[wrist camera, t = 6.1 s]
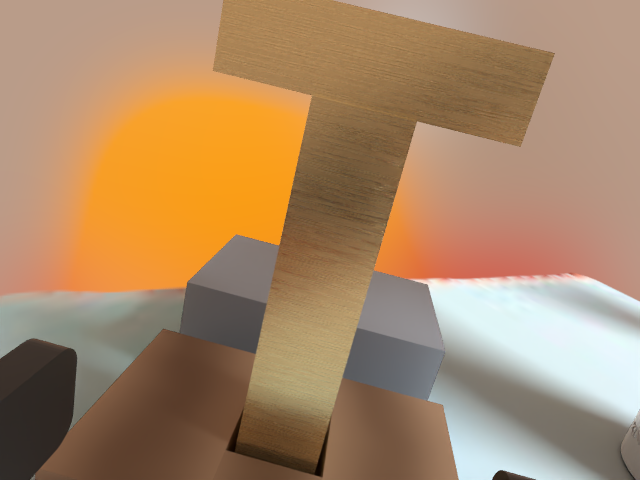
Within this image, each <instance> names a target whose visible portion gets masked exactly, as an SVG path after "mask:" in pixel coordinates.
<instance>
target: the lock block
mask: <svg viewBox="0 0 640 480" xmlns="http://www.w3.org/2000/svg"><path fill="white" fill-rule="evenodd" d="M255 356H256V354H254V353H250V352H246V351H243V350H239V349H235V348H232V347H228V346H224V345H221V344H217V343H213V342H210V341H206V340H202V339H199V338H195V337H191V336H188V335H184V334H180V333H177V332H173V331H170V330H166V329H163V330H162V331H161V332H160V333H159V334H158V335H157V336H156V337H155V339H154V340H153V341H152V342H151V343H150V344H149V345H148V346H147V347H146V348H145V349H144V350H143V352H142V353H141V354H140V355H139V356H138V357H137V358H136V359H135V360H134V361H133V362H132V363H131V365H130V366H129V367H128V368H127V369H126V370H125V371H124V372H123V373H122V374H121V375H120V377H119V378H118V379H117V380H116V381H115V382H114V383H113V384H112V385H111V386H110V387H109V388H108V390H107V391H106V392H105V393H104V394H103V395H102V396H101V397H100V398H99V399H98V400H97V402H96V403H95V404H94V405H93V406H92V407H91V408H90V409H89V410H88V411H87V412H86V413H85V415H84V416H83V417H82V418H81V419H80V420H79V421H78V422H77V423H76V424H75V425H74V426H73V428H72V429H71V430H70V431H69V432H68V433H67V434H66V436H65V438H64V440H63V442H62V443H61V445H60V446H59V448H58V449H57V450H56V451H55V452H54V454H53V455H52V456H51V457H50V458H49V459H48V460H47V461H46V462H45V463H44V465H43V466H42V467H41V468H40V469H39V470H38V471H37V472H36V473H35V480H458V475H457V470H456V465H455V461H454V456H453V451H452V446H451V442H450V437H449V432H448V427H447V423H446V418H445V413H444V408H443V405H441V404H437V403H433V402H430V401H426V400H422V399H419V398H415V397H411V396H408V395H404V394H400V393H397V392H393V391H389V390H386V389H382V388H378V387H375V386H371V385H367V384H364V383H360V382H356V381H353V380H349V379H345V378H342V380H341V384H340V387H339V390H338V394H337V397H336V401H335V404H334V408H333V411H332V414H331V418H330V421H329V425H328V428H327V432H326V435H325V438H324V442H323V445H322V449H321V452H320V456H319V459H318V463H317V466H316V469H315V473H314V475H311V474H308V473H304V472H301V471H297V470H294V469H290V468H287V467H283V466H280V465H276V464H273V463H269V462H265V461H262V460H258V459H255V458H251V457H248V456H244V455H241V454H237V453H234V452H235V448H236V443H237V438H238V434H239V429H240V425H241V420H242V415H243V411H244V406H245V402H246V397H247V392H248V388H249V383H250V379H251V374H252V370H253V365H254V360H255Z"/></svg>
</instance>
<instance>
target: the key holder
mask: <svg viewBox="0 0 640 480" xmlns="http://www.w3.org/2000/svg"><path fill="white" fill-rule="evenodd" d="M278 250H279V246H278V245H274V244H271V243H267V242H263V241H259V240H255V239H252V238H248V237H244V236H240V235H235V236H234V237H233V238H232V239H231V240H230V241H229V242H228V243H227V244H226V245H225V246H224V247H223V248H222V249H221V250H220V251H219V252H218V253H217V254H216V255H215V256H214V257H213V258H212V259H211V260H210V261H209V262H208V263H206V264H205V265H204V266H203V267H202V268H201V269H200V270H199V271H198V272H197V274H195V275H194V276H193V277H192V278H191V279H190V280H189V281H188V282H187V288H186V294H185V301H184V307H183V314H182V320H181V327H180V334H184V335H188V336H191V337H195V338H199V339H202V340H206V341H210V342H213V343H217V344H221V345H224V346H228V347H232V348H235V349H239V350H243V351H246V352H250V353H254V354H256V351H257V347H258V342H259V337H260V333H261V328H262V324H263V319H264V314H265V310H266V305H267V301H268V296H269V291H270V287H271V282H272V278H273V273H274V268H275V264H276V259H277V255H278ZM444 354H445V348H444V344H443V340H442V337H441V333H440V329H439V325H438V322H437V318H436V314H435V310H434V306H433V303H432V299H431V295H430V291H429V288H428V285H427V284H423V283H419V282H415V281H412V280H408V279H404V278H400V277H396V276H393V275H389V274H385V273H381V272H377V271H374V270H373V274H372V277H371V281H370V284H369V287H368V291H367V294H366V298H365V301H364V305H363V308H362V311H361V315H360V318H359V322H358V325H357V329H356V332H355V336H354V339H353V342H352V346H351V349H350V353H349V356H348V360H347V363H346V366H345V370H344V373H343V377H342V378H345V379H349V380H353V381H356V382H360V383H364V384H367V385H371V386H375V387H378V388H382V389H386V390H389V391H393V392H397V393H400V394H404V395H408V396H411V397H415V398H419V399H422V400H426V401H427V400H428V397H429V395H430V392H431V389H432V386H433V384H434V381H435V378H436V376H437V373H438V370H439V367H440V365H441V362H442V359H443V356H444Z"/></svg>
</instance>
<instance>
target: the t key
mask: <svg viewBox="0 0 640 480" xmlns="http://www.w3.org/2000/svg"><path fill="white" fill-rule="evenodd" d="M553 57H554V53H551V52H547V51H543V50H538V49H534V48H530V47H526V46H521V45H518V44H514V43H509V42H505V41H501V40H496V39H493V38H488V37H484V36H480V35H476V34H472V33H467V32H463V31H459V30H455V29H451V28H446V27H442V26H437V25H434V24H430V23H425V22H421V21H417V20H413V19H408V18H404V17H400V16H396V15H392V14H388V13H383V12H379V11H375V10H371V9H366V8H362V7H358V6H354V5H350V4H346V3H341V2H337V1H333V0H223V8H222V14H221V21H220V27H219V34H218V40H217V47H216V54H215V61H214V67H213V71H216V72H220V73H224V74H228V75H232V76H237V77H241V78H245V79H249V80H253V81H257V82H261V83H265V84H269V85H273V86H277V87H281V88H285V89H289V90H293V91H297V92H301V93H306V94H310V95H313V96H312V98H311V103H310V108H309V113H308V117H307V121H306V126H305V131H304V135H303V140H302V144H301V150H300V154H299V159H298V163H297V167H296V172H295V177H294V181H293V186H292V190H291V195H290V200H289V204H288V209H287V213H286V218H285V223H284V227H283V232H282V236H281V241H280V245H279V250H278V255H277V259H276V264H275V268H274V273H273V278H272V282H271V287H270V291H269V296H268V301H267V305H266V310H265V314H264V319H263V324H262V328H261V333H260V337H259V342H258V347H257V351H256V356H255V360H254V365H253V370H252V374H251V379H250V383H249V388H248V392H247V397H246V402H245V406H244V411H243V415H242V420H241V425H240V429H239V434H238V438H237V443H236V448H235V452H234V453H237V454H241V455H244V456H248V457H251V458H255V459H258V460H262V461H265V462H269V463H273V464H276V465H280V466H283V467H287V468H290V469H294V470H297V471H301V472H304V473H308V474H311V475H314V473H315V469H316V466H317V463H318V459H319V456H320V452H321V449H322V445H323V442H324V438H325V435H326V432H327V428H328V425H329V421H330V418H331V414H332V411H333V408H334V404H335V401H336V397H337V394H338V390H339V387H340V384H341V380H342V377H343V373H344V370H345V366H346V363H347V360H348V356H349V353H350V349H351V346H352V342H353V339H354V336H355V332H356V329H357V325H358V322H359V318H360V315H361V311H362V308H363V305H364V301H365V298H366V294H367V291H368V287H369V284H370V281H371V277H372V274H373V270H374V267H375V263H376V260H377V256H378V253H379V250H380V246H381V243H382V239H383V236H384V233H385V229H386V226H387V222H388V219H389V215H390V212H391V208H392V205H393V202H394V198H395V195H396V191H397V188H398V184H399V181H400V178H401V174H402V171H403V167H404V164H405V160H406V157H407V154H408V150H409V147H410V143H411V139H412V136H413V133H414V130H415V126H416V122H417V121H419V122H423V123H426V124H430V125H435V126H439V127H443V128H447V129H451V130H455V131H459V132H463V133H467V134H471V135H475V136H479V137H483V138H487V139H491V140H495V141H499V142H503V143H508V144H512V145H515V146H519V147H520V146H521V144H522V141H523V139H524V136H525V133H526V130H527V127H528V125H529V122H530V119H531V117H532V114H533V111H534V109H535V106H536V103H537V100H538V98H539V95H540V92H541V89H542V86H543V84H544V81H545V79H546V76H547V73H548V70H549V68H550V65H551V62H552V59H553Z"/></svg>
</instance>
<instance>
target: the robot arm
mask: <svg viewBox="0 0 640 480" xmlns="http://www.w3.org/2000/svg"><path fill="white" fill-rule="evenodd" d="M76 366H77V355H76V352H75V351H74V350H73V349H71V348H67V347H64V346H60V345H56V344H53V343H49V342H46V341H42V340H38V339H29V340H27V341H25V342H24V343H22V344H21V345H19V346H18V347H16V348H15V349H14V350H12V351H11V352H9V353H8V354H6V355H5V356H4V357H2V358H1V359H0V480H30V479H31V478H32V477H33V476H34V474H35V473H36V472H37V471H38V470H39V469H40V468H41V467H42V466H43V465H44V463H45V462H46V461H47V460H48V459H49V458H50V457H51V456H52V455H53V454H54V452H55V451H56V450H57V449H58V448H59V446H60V445H61V443H62V442H63V440H64V438H65V436H66V434H67V432H68V430H69V427H70V425H71V421H72V417H73V407H74V393H75V380H76ZM621 454H622V458H623V461H624V462H625V464H626V466H627V468H628V470H629V471H630V473H631V474H632V475H633V476H634V478H635V479H636V480H640V410H639V412H638V414H637V415H636V417H635V419H634V421H633V423H632V425H631V426H630V428H629V430H628V432H627V434H626V436H625V437H624V439H623V441H622V443H621ZM492 480H535V479H532V478H528V477H525V476H521V475H517V474H514V473H510V472H507V471H503V470H500V471H498V472H497V473H496V474H495V475H494V477H493V479H492Z"/></svg>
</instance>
